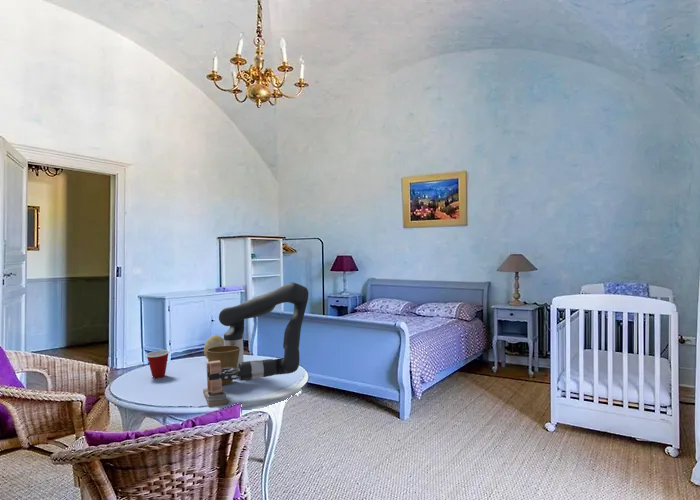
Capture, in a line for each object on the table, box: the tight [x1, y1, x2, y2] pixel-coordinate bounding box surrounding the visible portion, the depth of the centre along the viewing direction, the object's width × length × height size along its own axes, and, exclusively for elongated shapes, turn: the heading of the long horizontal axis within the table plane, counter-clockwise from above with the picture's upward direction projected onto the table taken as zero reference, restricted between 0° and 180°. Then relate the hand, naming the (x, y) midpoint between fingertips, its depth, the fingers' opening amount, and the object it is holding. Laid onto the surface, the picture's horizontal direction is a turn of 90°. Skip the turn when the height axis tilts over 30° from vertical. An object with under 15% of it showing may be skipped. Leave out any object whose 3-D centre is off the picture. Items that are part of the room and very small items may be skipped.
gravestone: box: [202, 361, 228, 408], centre depth 192 cm, size 21×7×14 cm, turn 23°
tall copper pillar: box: [210, 360, 223, 393], centre depth 187 cm, size 4×4×12 cm
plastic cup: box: [145, 349, 170, 378], centre depth 230 cm, size 11×11×12 cm
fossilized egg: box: [203, 334, 224, 360], centre depth 257 cm, size 13×13×15 cm
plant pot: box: [207, 346, 240, 386], centre depth 214 cm, size 15×15×16 cm
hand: (208, 376), depth 186 cm, fingers closed on tall copper pillar, 4 cm apart
